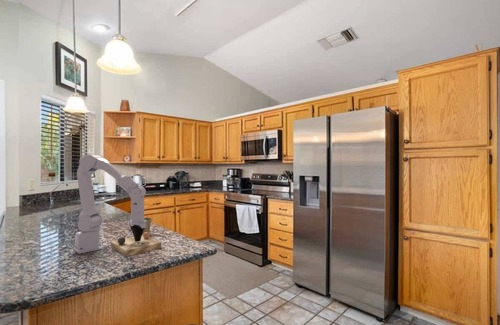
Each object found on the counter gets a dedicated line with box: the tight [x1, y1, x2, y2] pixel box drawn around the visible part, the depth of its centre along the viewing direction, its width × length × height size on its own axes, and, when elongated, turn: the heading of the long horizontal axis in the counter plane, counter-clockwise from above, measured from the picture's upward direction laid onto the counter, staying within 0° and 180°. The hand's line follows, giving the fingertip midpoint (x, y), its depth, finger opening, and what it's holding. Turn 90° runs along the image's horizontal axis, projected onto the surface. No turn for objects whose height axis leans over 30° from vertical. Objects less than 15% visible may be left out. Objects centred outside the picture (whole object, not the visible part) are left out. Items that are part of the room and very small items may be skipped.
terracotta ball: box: [143, 232, 151, 239], centre depth 128 cm, size 3×3×3 cm
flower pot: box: [142, 217, 153, 235], centre depth 145 cm, size 9×9×9 cm
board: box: [110, 235, 162, 257], centre depth 122 cm, size 16×20×2 cm
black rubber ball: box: [117, 236, 125, 244], centre depth 119 cm, size 3×3×3 cm
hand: (137, 240), depth 121 cm, fingers closed
